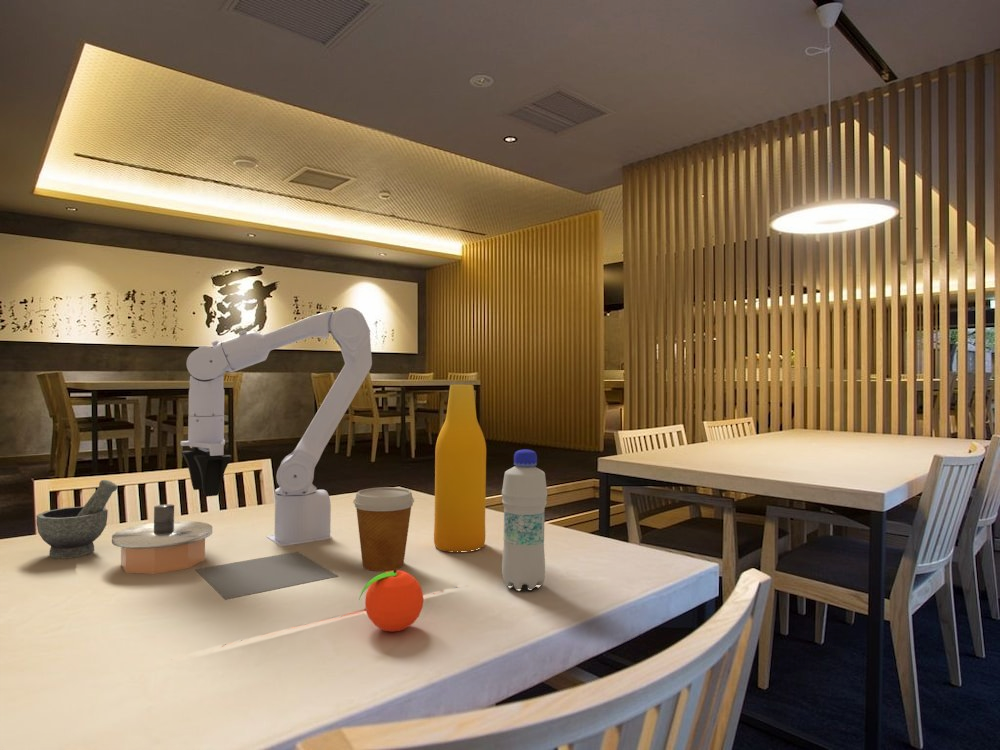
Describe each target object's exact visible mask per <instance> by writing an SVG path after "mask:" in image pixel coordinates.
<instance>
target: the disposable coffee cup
mask: <svg viewBox="0 0 1000 750" xmlns="http://www.w3.org/2000/svg"><path fill="white" fill-rule="evenodd" d="M414 502H415V498H414V497H413V493H412V490H411V489H407V488H403V487H387V486H386V487H372V488H371V487H370V488H366V489H360V490H359V491H356V495H355V498H354V499H353V502H352V503H353V504H354V507H355V509H356V516H357V525H358V526H357V527H358V536H359V543H360V544H359V545H360V551H361V563H362V568H364V570H367V571H372V572H387V571H394V570H399V569H400V568H402V567H403V566H404V563H405V556H406V549H407V548H406V547H407V541H408V533H409V527H410V520H411V519H410V518H411V512H412V511H411V510H412V507H413V505H414Z"/></svg>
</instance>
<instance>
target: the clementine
mask: <svg viewBox="0 0 1000 750" xmlns="http://www.w3.org/2000/svg"><path fill="white" fill-rule="evenodd" d="M367 588H368V589H367ZM366 589H367V591H366V593H365V600H364V603H365V604H364V605H365V613H366V614H367V616H368V619H369V620H370V622H372V623H373V624H374V626H376V627H377V628H379V629H380V630H383V631H385V632H400V631H404V630H405V629H407V628H409V627H410V626H412V625H413V624H414V623H415V622H416V620H417V619H418V618H419V617H420V614H421V612H422V609H423V606H424V594H423V590H422V587H421V585H420V582H419V581H418V580H417V579H416V577H414V576H413V575H412V574H410V573H408V572H406V571H404V570H399V569H395V570H391V571H384V572H382V573H379V574H377V575H376V576H374V577H372V579H370V580H369V581H368V582H367V583H366V584H365V585H364V587H363V588H362V590H361V592H360V596H359V600H360V599H361V597H362V596H363V594H364V592H365V590H366Z"/></svg>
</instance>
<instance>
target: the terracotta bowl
mask: <svg viewBox="0 0 1000 750" xmlns="http://www.w3.org/2000/svg"><path fill="white" fill-rule="evenodd" d="M120 549H121V550H120V565H121V568H123V570H124V572H125V573H127V574H128V573H130V574H131V573H132V574H150V575H151V574H153V575H155V574H162V573H167V572H172V571H179V570H184V569H189V568H191V567H193V566H194V565H197V564H198V563H201V562H203V561H204V560H205V559H206V557H205V556H206V538H205V539H202V540H199V541H196V542H192V543H188V544H183V545H178V546H171V547H163V548H149V549H133V548H123V547H120Z"/></svg>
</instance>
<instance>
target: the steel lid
mask: <svg viewBox="0 0 1000 750" xmlns="http://www.w3.org/2000/svg"><path fill="white" fill-rule="evenodd" d="M153 510H154V511H153V522H151V523H145V524H141V525H135V526H130V527H127V528H124V529H121V530H118V531H117V532H114V533H113V534H112V535H111V544H112V545H113V546H116V547H119V548H121V547H123V548H133V549H149V548H163V547H171V546H178V545H183V544H188V543H192V542H196V541H199V540H202V539H205V540H206V539H207V538H209V537H210V536H212V534H213V525H212V524H210V523H208V522H202V521H194V520H193V521H191V520H190V521H189V520H188V521H187V520H179V521H178V520H175V505H174V504H158V505H155V506H154V507H153Z"/></svg>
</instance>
